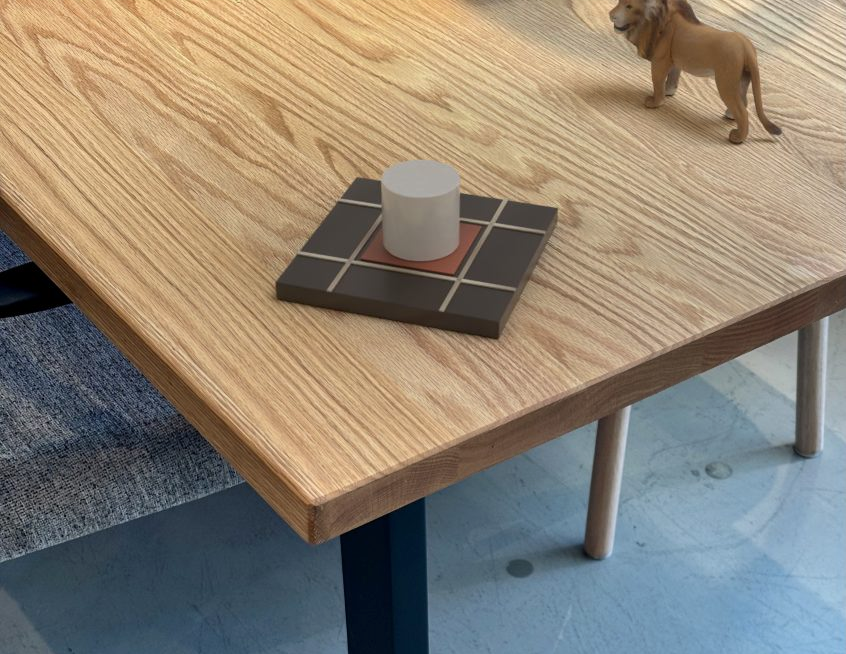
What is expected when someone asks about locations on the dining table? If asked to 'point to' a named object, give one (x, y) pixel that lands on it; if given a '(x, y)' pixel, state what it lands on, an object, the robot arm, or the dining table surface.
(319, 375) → the dining table surface
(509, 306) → the board
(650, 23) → the lion figurine
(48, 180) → the dining table surface
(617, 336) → the dining table surface
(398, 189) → the white plastic cylinder
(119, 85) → the dining table surface
